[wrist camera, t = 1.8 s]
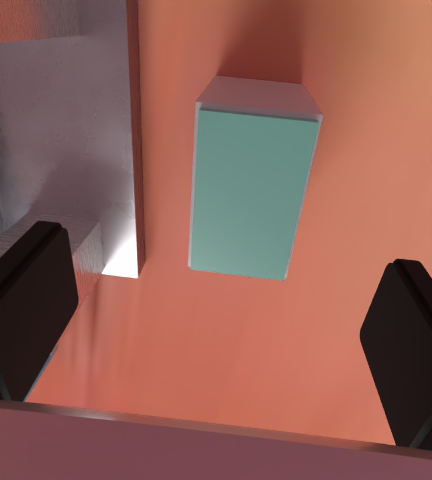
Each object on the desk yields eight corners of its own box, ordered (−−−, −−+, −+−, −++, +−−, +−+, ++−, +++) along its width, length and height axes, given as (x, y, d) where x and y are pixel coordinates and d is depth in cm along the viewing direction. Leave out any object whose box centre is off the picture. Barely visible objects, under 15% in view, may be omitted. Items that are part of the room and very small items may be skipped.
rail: (135, -65, 18) (13, -150, 9) (145, 262, 28) (92, 375, 19) (-58, -81, 18) (-359, -178, 9) (22, 247, 29) (-85, 350, 20)
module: (301, 84, 21) (325, 117, 14) (278, 208, 25) (286, 284, 18) (215, 75, 21) (193, 104, 14) (206, 199, 25) (186, 272, 18)
